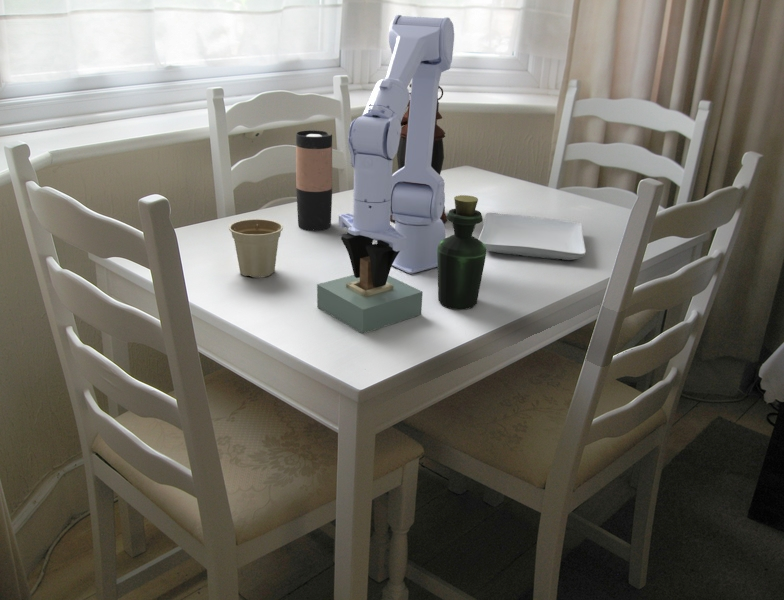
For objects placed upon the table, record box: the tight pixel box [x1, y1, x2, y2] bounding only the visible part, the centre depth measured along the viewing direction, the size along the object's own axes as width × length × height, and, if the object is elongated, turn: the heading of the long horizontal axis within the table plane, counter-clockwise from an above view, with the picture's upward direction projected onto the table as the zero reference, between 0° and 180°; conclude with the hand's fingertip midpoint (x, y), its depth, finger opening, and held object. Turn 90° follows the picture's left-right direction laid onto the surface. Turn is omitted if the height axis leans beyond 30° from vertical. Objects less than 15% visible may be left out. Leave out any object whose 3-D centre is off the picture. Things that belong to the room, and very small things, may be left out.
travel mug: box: [295, 129, 333, 232], centre depth 151 cm, size 8×8×20 cm
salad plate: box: [477, 212, 587, 261], centre depth 149 cm, size 21×21×3 cm
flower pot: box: [228, 218, 284, 279], centre depth 127 cm, size 9×9×9 cm
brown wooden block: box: [360, 256, 375, 291], centre depth 113 cm, size 2×3×8 cm, turn 130°
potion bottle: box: [437, 194, 488, 311], centre depth 116 cm, size 8×8×18 cm
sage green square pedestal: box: [316, 274, 424, 334], centre depth 114 cm, size 12×12×5 cm
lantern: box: [390, 83, 448, 225], centre depth 157 cm, size 17×14×30 cm
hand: (369, 280), depth 113 cm, fingers open, 4 cm apart
